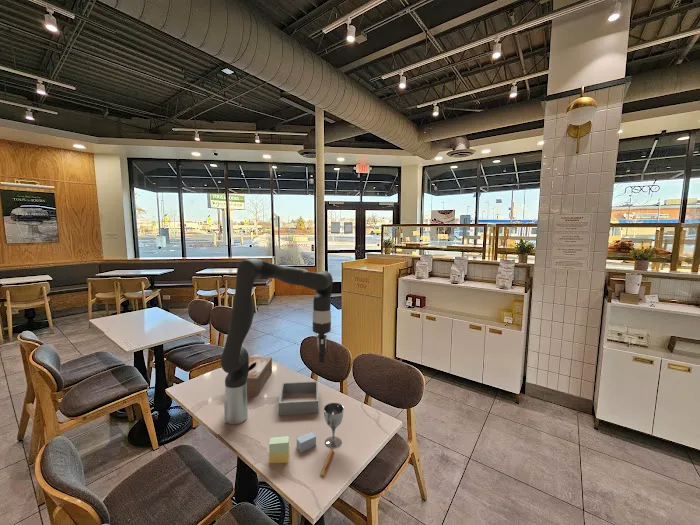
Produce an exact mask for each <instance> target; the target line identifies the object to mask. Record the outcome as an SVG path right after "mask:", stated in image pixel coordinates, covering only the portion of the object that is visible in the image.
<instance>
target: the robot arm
mask: <svg viewBox="0 0 700 525" xmlns="http://www.w3.org/2000/svg"><path fill="white" fill-rule="evenodd" d="M236 268H237V270H236V277H235V278H236V281H235V292H234V297H233V302H232V309H231V313H230V319H229V325H228V329H227V336H226V341H225V345H224V348H223V351H222V354H221V358H220V366H221V370H222V371H224V372H225V373H226V377H225V378H224V379H225V380H224V386H225V388H224V389H225V391H224V392H225V393H224V394H225V399H224V404H223V408H224V423H226V424H229V425H239V424H242V423H243V422H245V421H246V420H247V418H248V396H247V376H248V372H249V353H248V351H247V349H246V348H245V347H243V346H242V345H243V343H244V340H245V338H246V337H247V335H248V333H249V331H250V329H251V327H252V324H253V319H254V314H255V304H254V300H253V297H252V292H253V287H254V284H255V280H259V279H263V278H264V279H267V278H268V279H274V280H277V281H280V282H283V283H285V284H288V285H295V286H301V287H305V288H307V289H311V290H315V295H314V297H313V300H312V301H313V304H312V306H313V307H312V332H313V333H315V334H316V342H317V349H318V363H320V364H321V363H325V359H326V356H325V355H326V348H327V339H328V338H327V337H328V336H327V334H328V333H331V331H332V311H331V303H332V302H331V297H332V291H333V284H334V283H333V282H334V281H333V276H332V274H331V273H330V272H329V271H327V270H323V271H319V272H315V271H314V272H313V271H309V270H308V269H306V268H301V267H294V266H286V265H280V264H276V263H272V262H269V261H266V260H263V259H259V258H256V257H255V258H253V257H252V258H248V259H244V260H242V261H241V262H240V263H239V264H238V266H237V267H236Z"/></svg>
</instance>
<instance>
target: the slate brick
mask: <svg viewBox="0 0 700 525" xmlns="http://www.w3.org/2000/svg"><path fill="white" fill-rule="evenodd" d="M315 446H317V435H316V434H315V433H314V432H313V431H310V432H308V433H306V434H302V435H301V436H299V437H296V448H297V450H298V451H299V452H300V453H302V452H305V451H307V450H308V449H309V450H310V449H311V448H313V447H315Z"/></svg>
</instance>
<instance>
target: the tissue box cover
mask: <svg viewBox="0 0 700 525" xmlns="http://www.w3.org/2000/svg"><path fill="white" fill-rule="evenodd" d="M248 356H249V355H248ZM272 374H273V357H272V356H252V355H251V356H249V372H248V376H247V397H258V396H259V394H260V392H261V390H262V389H263V387H264V386H265V384H266V383H267V381H268V380H269V378H270V377H271V375H272ZM269 376H270V377H269Z"/></svg>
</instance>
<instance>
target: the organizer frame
mask: <svg viewBox="0 0 700 525" xmlns="http://www.w3.org/2000/svg"><path fill="white" fill-rule="evenodd" d="M295 393H299V394H315V397H316V399H311V400H310V399H309V400H294V401H293V400H291V401H290V400H289V401H284V397H285V396H284V395H295ZM304 413H305V414H318V413H319V381H318V380H317V381H314V380H313V381H293V382H291V381H290V382H282V383H281V388H280V393H279V399H278V415H279V416H284V415H286V416H287V415H303V414H304Z"/></svg>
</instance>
